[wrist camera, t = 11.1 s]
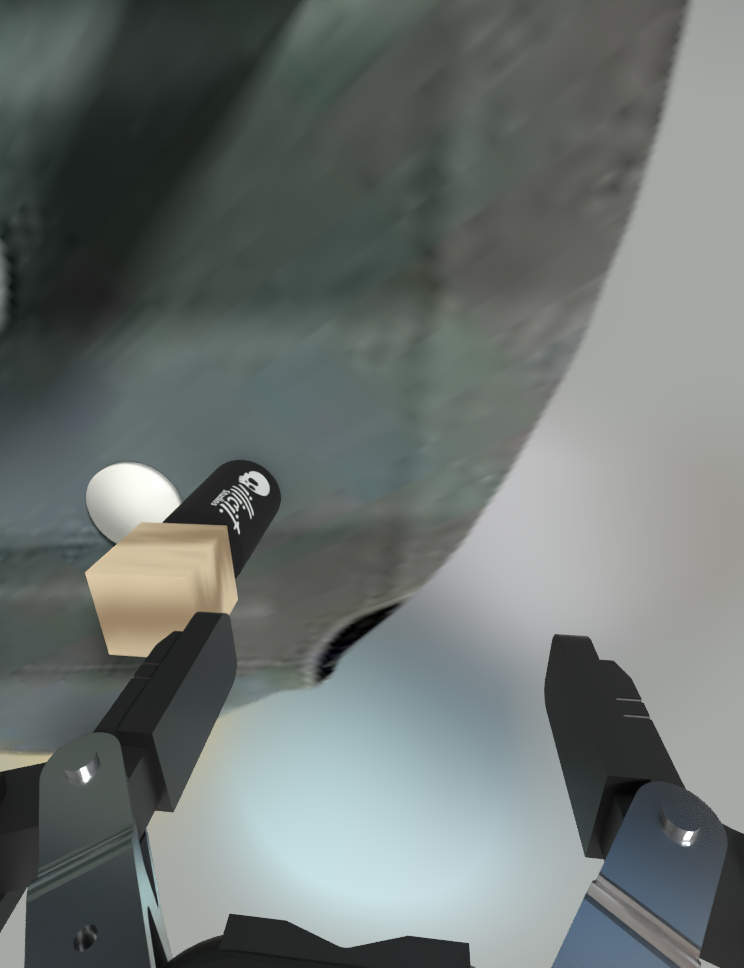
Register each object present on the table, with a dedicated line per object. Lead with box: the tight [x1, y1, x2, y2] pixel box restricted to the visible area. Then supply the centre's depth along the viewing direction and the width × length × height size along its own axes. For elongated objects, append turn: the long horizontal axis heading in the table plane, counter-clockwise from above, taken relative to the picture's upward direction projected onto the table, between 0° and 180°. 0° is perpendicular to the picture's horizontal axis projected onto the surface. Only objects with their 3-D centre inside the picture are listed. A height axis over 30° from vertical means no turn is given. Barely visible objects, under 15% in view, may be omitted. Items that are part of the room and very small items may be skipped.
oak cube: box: [85, 522, 238, 657], centre depth 32 cm, size 6×6×6 cm
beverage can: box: [162, 460, 281, 578], centre depth 40 cm, size 7×7×12 cm
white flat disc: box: [86, 462, 182, 544], centre depth 47 cm, size 9×9×1 cm
